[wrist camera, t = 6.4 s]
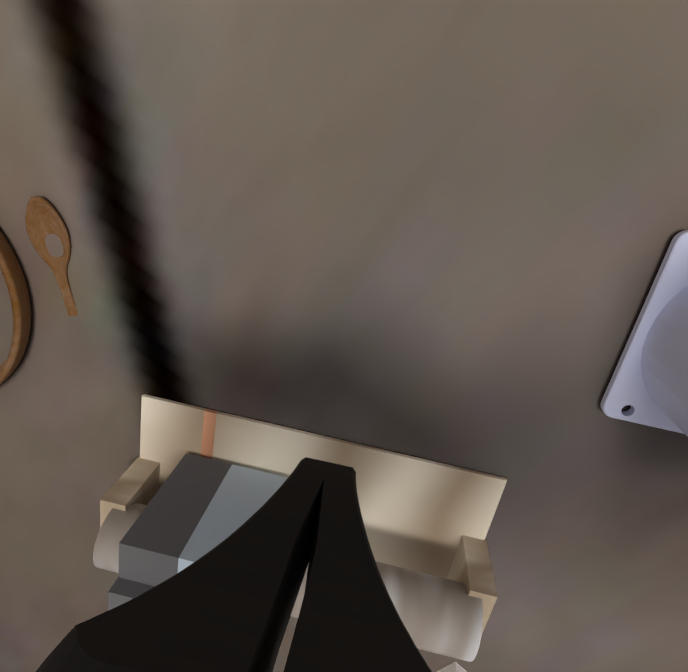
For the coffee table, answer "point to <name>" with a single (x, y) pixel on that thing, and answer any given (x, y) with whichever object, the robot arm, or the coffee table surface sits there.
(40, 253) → the place setting
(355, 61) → the coffee table surface
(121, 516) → the pipe rig
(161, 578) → the grey notched block
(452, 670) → the bracket
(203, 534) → the sleeve
